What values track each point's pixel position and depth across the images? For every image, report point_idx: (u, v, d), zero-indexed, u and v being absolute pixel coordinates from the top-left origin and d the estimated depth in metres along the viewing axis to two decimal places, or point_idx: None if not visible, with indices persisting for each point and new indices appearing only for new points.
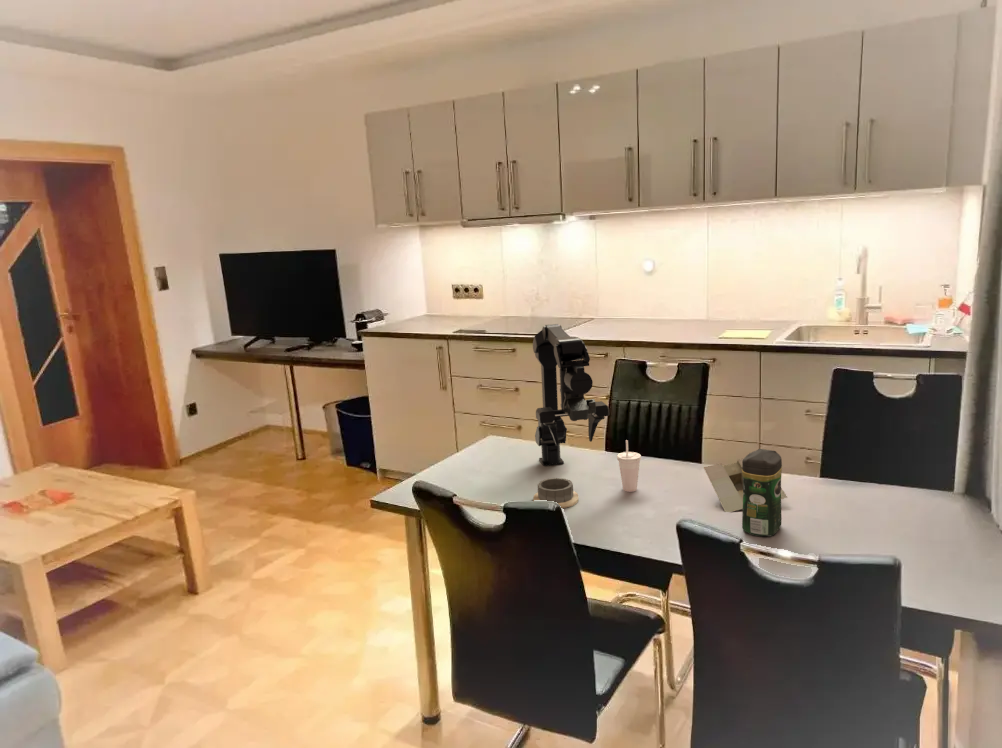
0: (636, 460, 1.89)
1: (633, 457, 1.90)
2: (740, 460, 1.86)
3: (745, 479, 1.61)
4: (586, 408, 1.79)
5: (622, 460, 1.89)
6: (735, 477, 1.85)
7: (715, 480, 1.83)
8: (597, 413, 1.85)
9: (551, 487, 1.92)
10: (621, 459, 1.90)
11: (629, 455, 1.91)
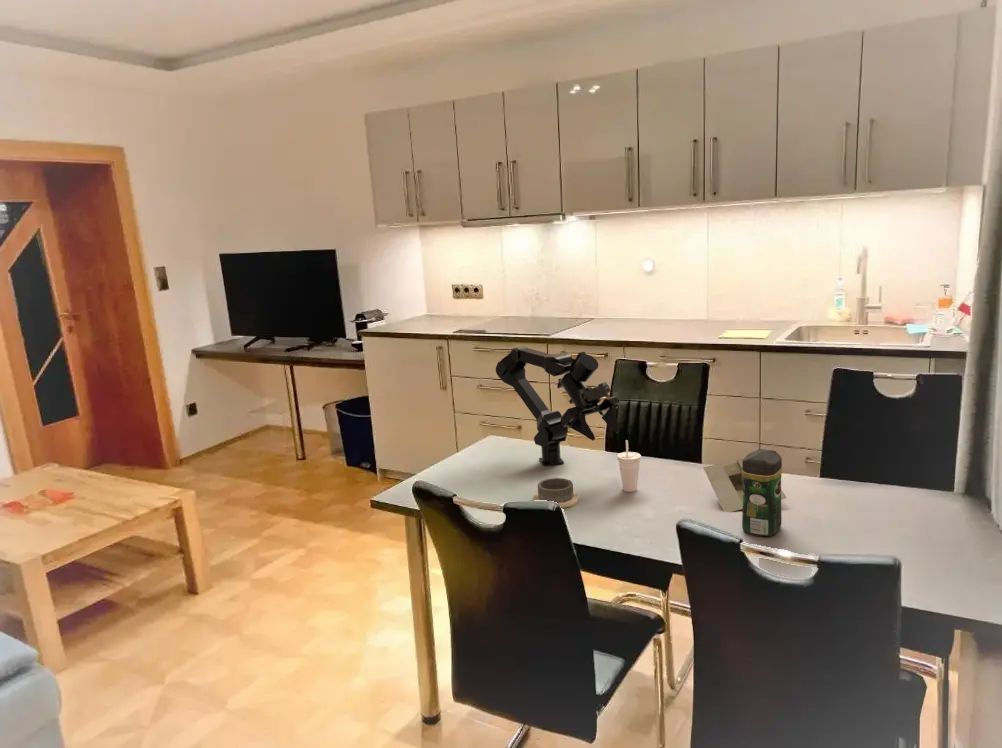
0: (636, 460, 1.89)
1: (633, 457, 1.90)
2: (740, 460, 1.86)
3: (745, 479, 1.61)
4: (602, 385, 1.97)
5: (622, 460, 1.89)
6: (735, 478, 1.85)
7: (714, 480, 1.83)
8: (610, 401, 2.02)
9: (551, 487, 1.92)
10: (621, 459, 1.90)
11: (629, 455, 1.91)
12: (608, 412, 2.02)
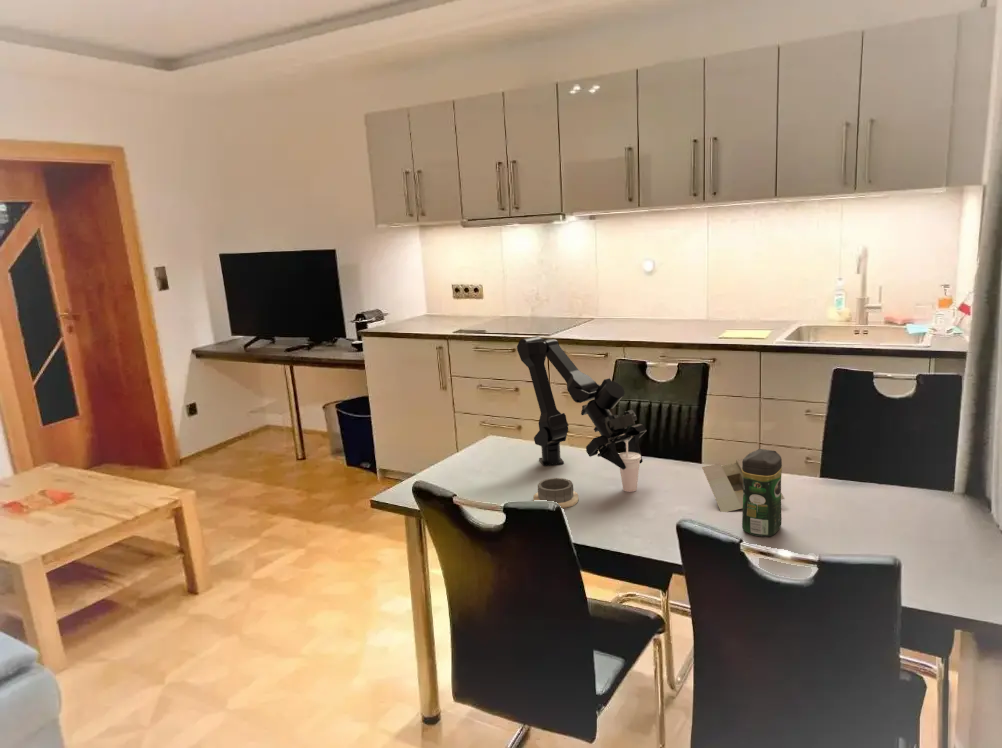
0: (636, 460, 1.89)
1: (633, 457, 1.90)
2: (739, 460, 1.86)
3: (745, 479, 1.61)
4: (629, 413, 1.91)
5: (622, 460, 1.89)
6: (734, 478, 1.85)
7: (712, 480, 1.83)
8: (637, 429, 1.95)
9: (551, 487, 1.92)
10: None
11: (629, 455, 1.91)
12: (631, 441, 1.95)
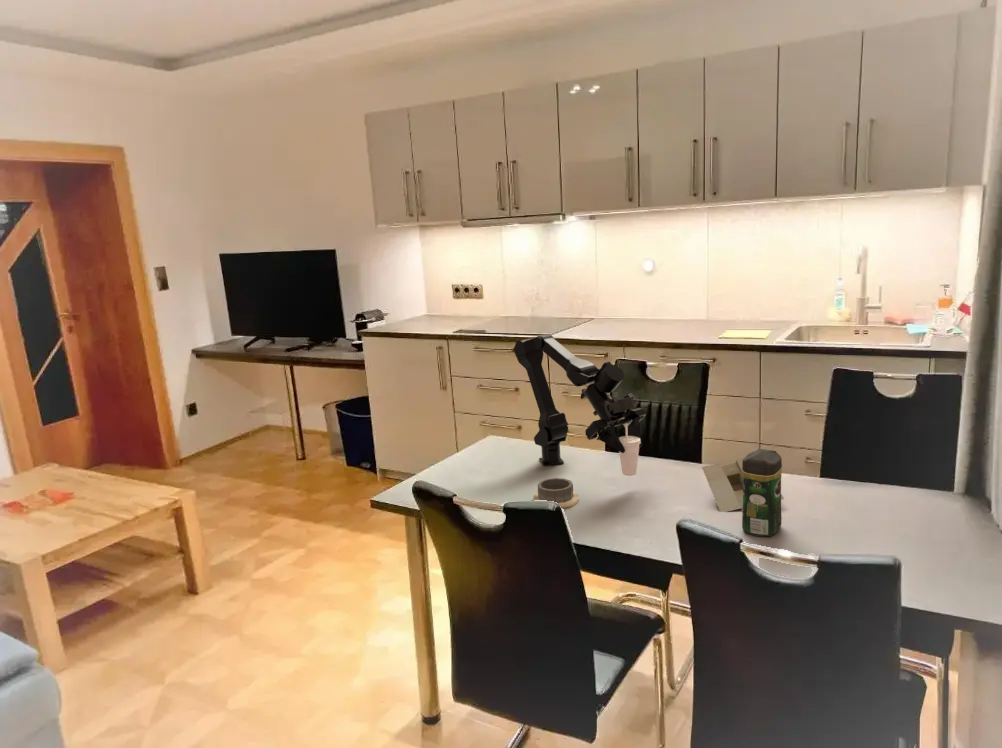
0: (636, 444, 1.88)
1: (633, 441, 1.89)
2: (739, 460, 1.86)
3: (745, 479, 1.61)
4: (629, 397, 1.90)
5: None
6: (734, 478, 1.85)
7: (712, 480, 1.83)
8: (636, 413, 1.94)
9: (551, 487, 1.92)
10: None
11: (629, 439, 1.90)
12: (630, 425, 1.94)
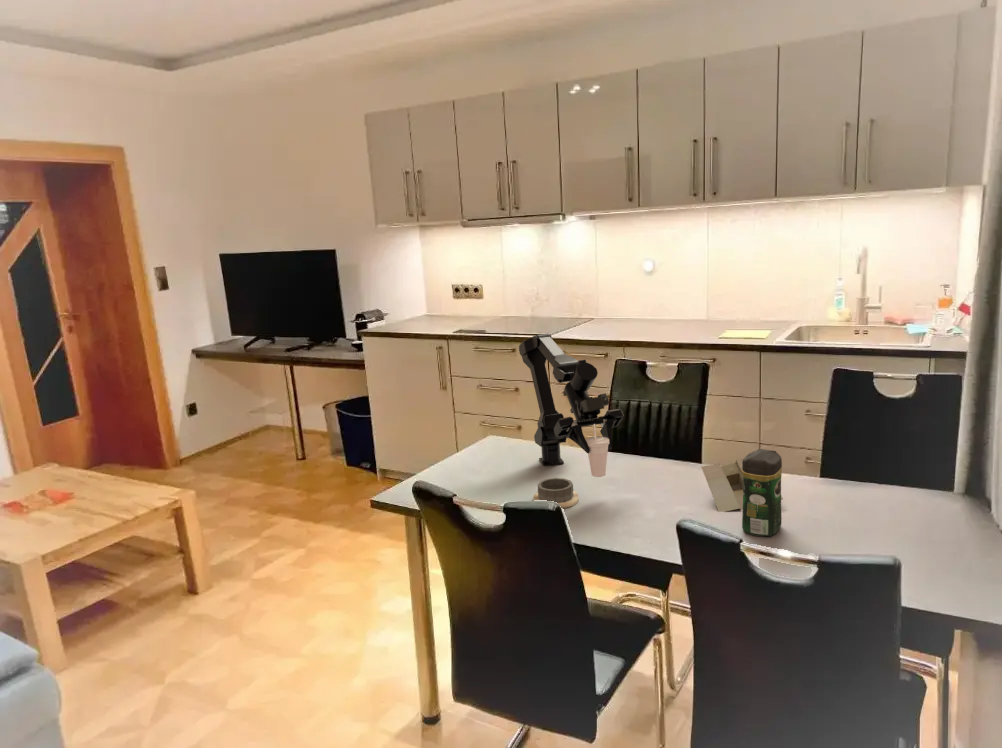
0: (601, 445, 1.84)
1: (599, 442, 1.85)
2: (738, 460, 1.86)
3: (745, 479, 1.61)
4: (599, 397, 1.86)
5: None
6: (733, 478, 1.85)
7: (711, 480, 1.83)
8: (612, 414, 1.90)
9: (551, 487, 1.92)
10: (587, 443, 1.86)
11: (597, 439, 1.86)
12: (604, 426, 1.90)
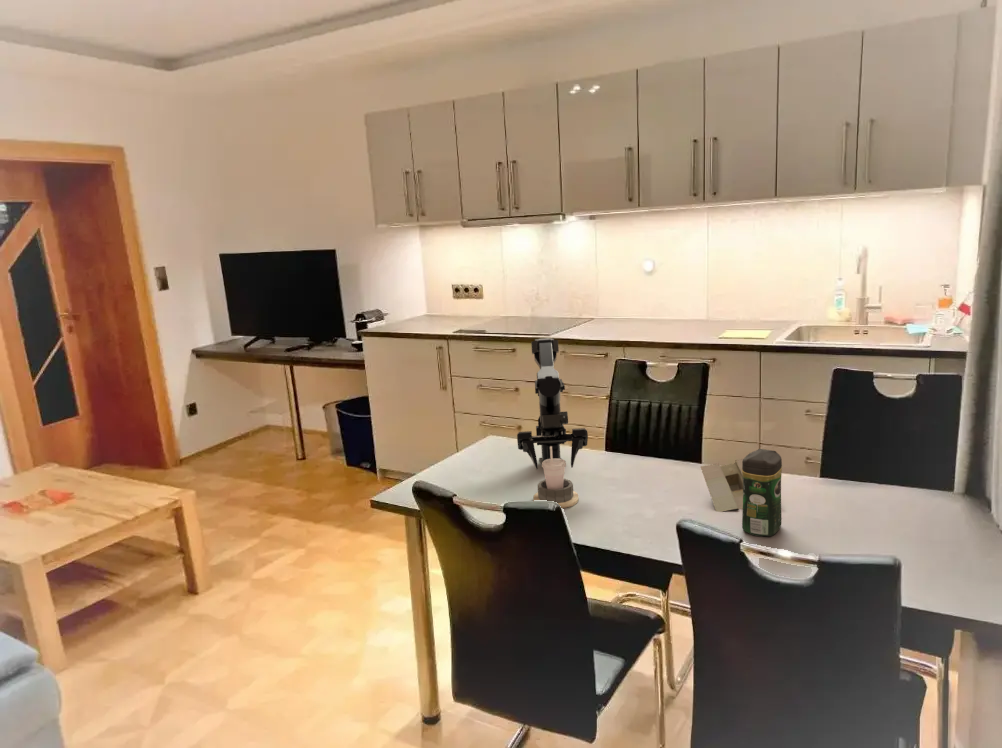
0: (552, 468, 1.84)
1: (553, 464, 1.85)
2: (738, 461, 1.86)
3: (745, 479, 1.61)
4: None
5: (542, 465, 1.87)
6: (732, 478, 1.85)
7: (710, 480, 1.83)
8: (574, 432, 1.88)
9: None
10: (542, 464, 1.87)
11: (552, 462, 1.87)
12: None
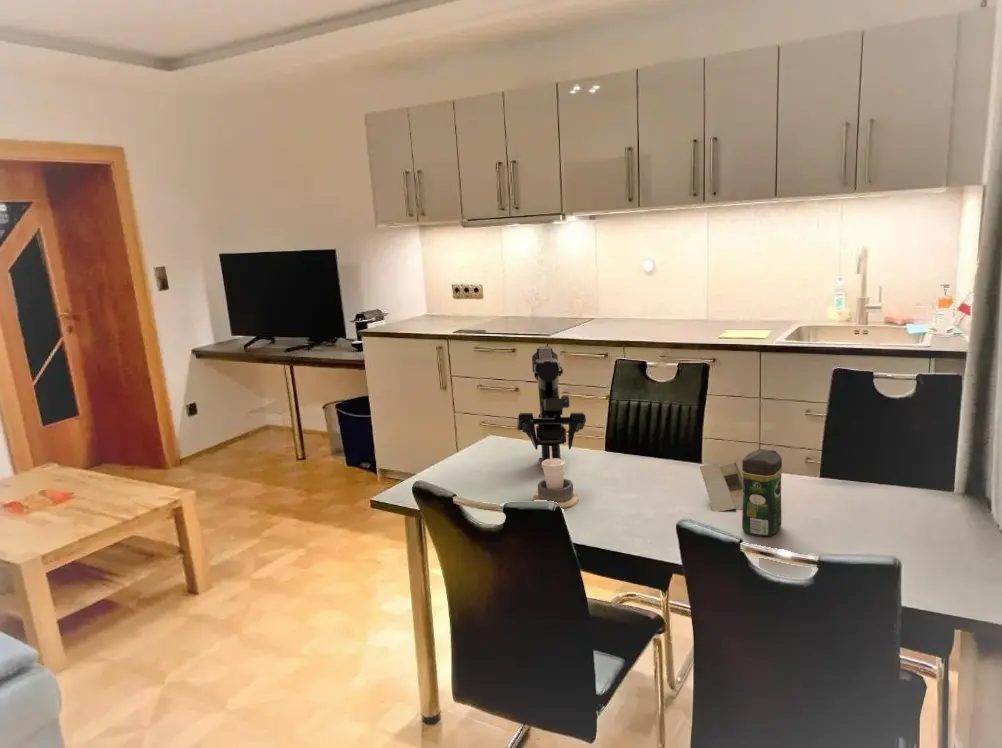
0: (552, 468, 1.84)
1: (552, 464, 1.85)
2: (737, 461, 1.86)
3: (745, 479, 1.61)
4: (559, 398, 1.94)
5: (542, 465, 1.87)
6: (731, 478, 1.85)
7: (708, 480, 1.83)
8: (573, 416, 1.97)
9: None
10: (542, 464, 1.87)
11: (552, 462, 1.87)
12: (570, 427, 1.98)
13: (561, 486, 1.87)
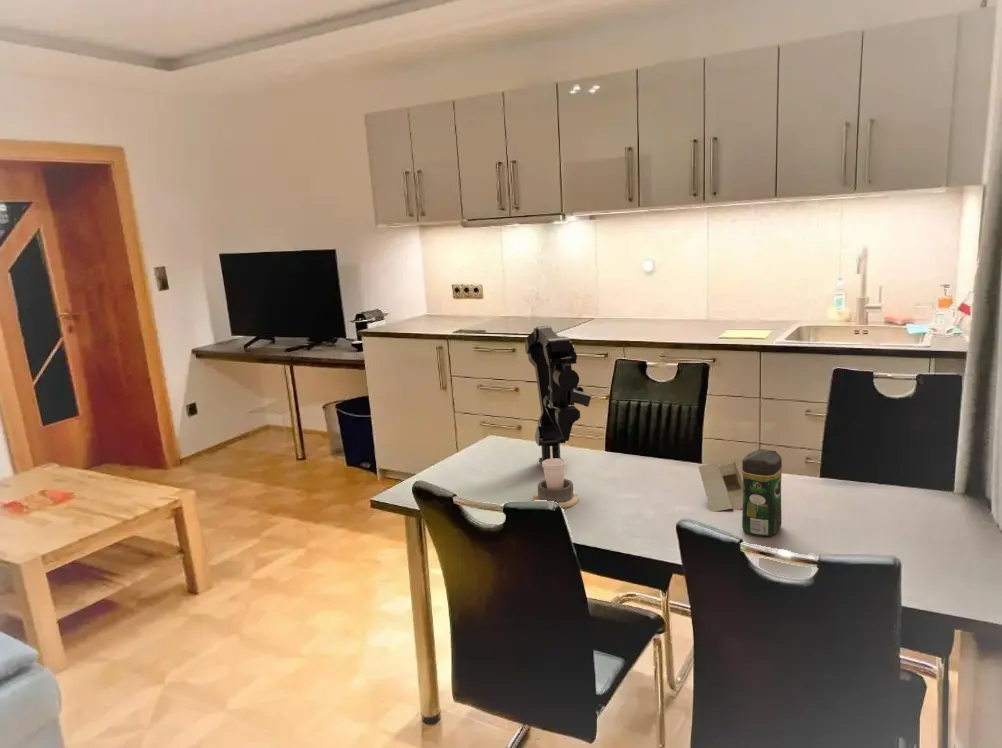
0: (552, 468, 1.84)
1: (553, 464, 1.85)
2: (736, 461, 1.86)
3: (745, 479, 1.61)
4: (586, 393, 2.01)
5: (542, 465, 1.87)
6: (730, 478, 1.85)
7: (707, 479, 1.84)
8: None
9: None
10: (542, 463, 1.87)
11: (553, 462, 1.87)
12: None
13: (561, 486, 1.87)
